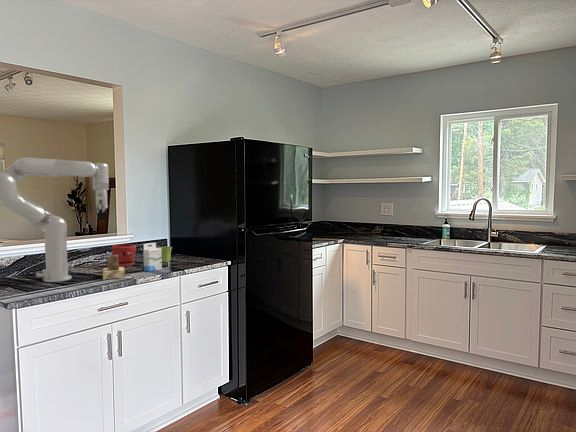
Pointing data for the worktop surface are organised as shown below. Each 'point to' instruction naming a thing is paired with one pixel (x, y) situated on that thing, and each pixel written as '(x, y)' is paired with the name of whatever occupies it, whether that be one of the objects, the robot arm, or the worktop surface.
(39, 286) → the worktop surface
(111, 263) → the walnut block
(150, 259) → the ink box
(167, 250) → the plant pot
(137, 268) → the worktop surface
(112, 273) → the maple block
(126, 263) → the plant pot
